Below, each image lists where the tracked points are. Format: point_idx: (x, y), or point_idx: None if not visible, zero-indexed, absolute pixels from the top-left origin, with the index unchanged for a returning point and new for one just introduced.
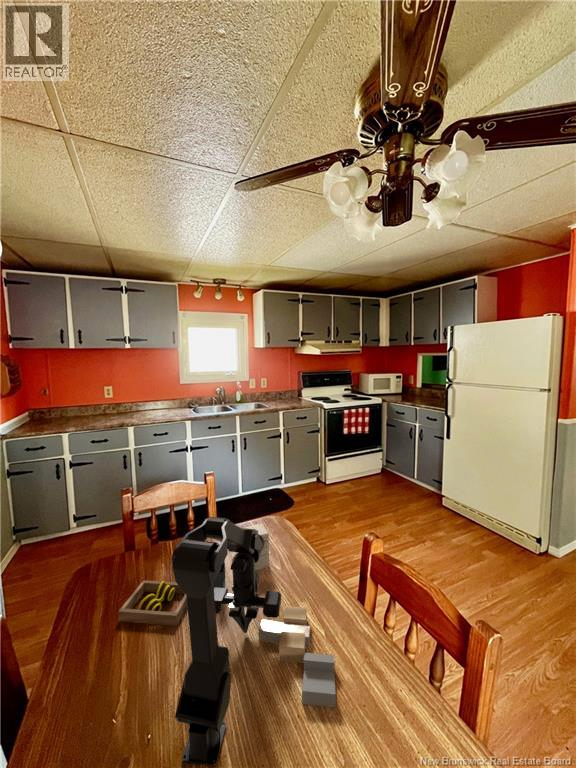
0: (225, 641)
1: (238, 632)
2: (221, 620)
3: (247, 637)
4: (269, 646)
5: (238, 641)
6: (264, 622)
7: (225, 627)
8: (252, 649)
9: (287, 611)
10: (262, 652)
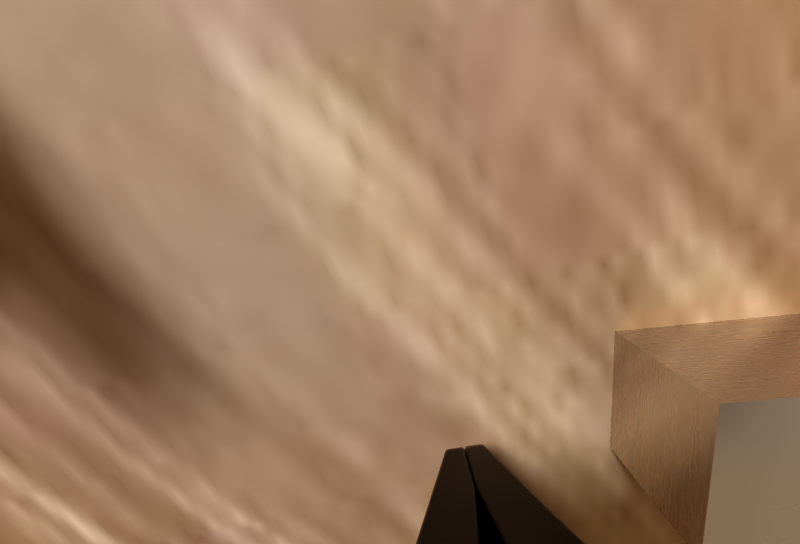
0: (291, 529)
1: (369, 423)
2: (99, 341)
3: None
4: None
5: (413, 502)
6: (770, 437)
7: (201, 407)
8: None
9: None
10: (670, 536)
